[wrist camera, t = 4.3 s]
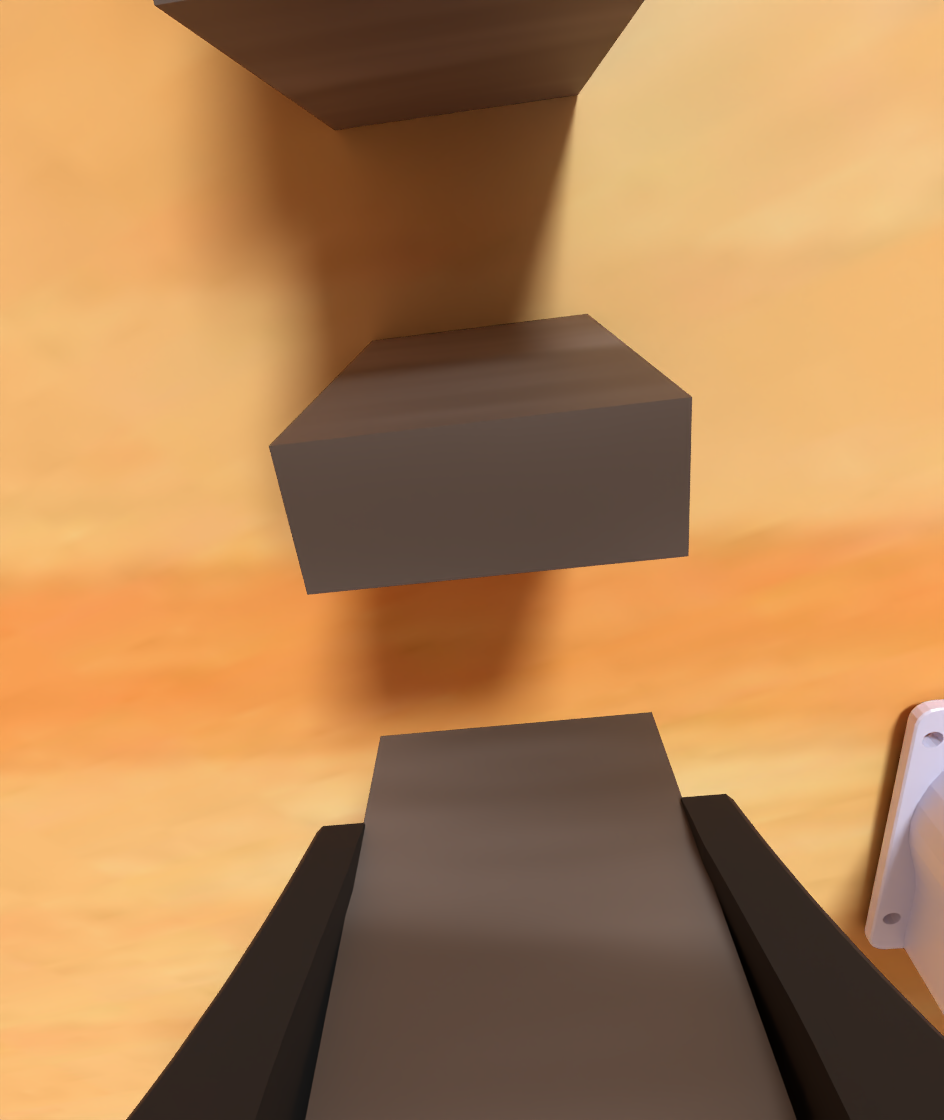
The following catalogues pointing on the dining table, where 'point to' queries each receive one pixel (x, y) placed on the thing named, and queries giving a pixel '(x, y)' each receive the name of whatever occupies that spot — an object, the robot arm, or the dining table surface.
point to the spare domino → (537, 941)
